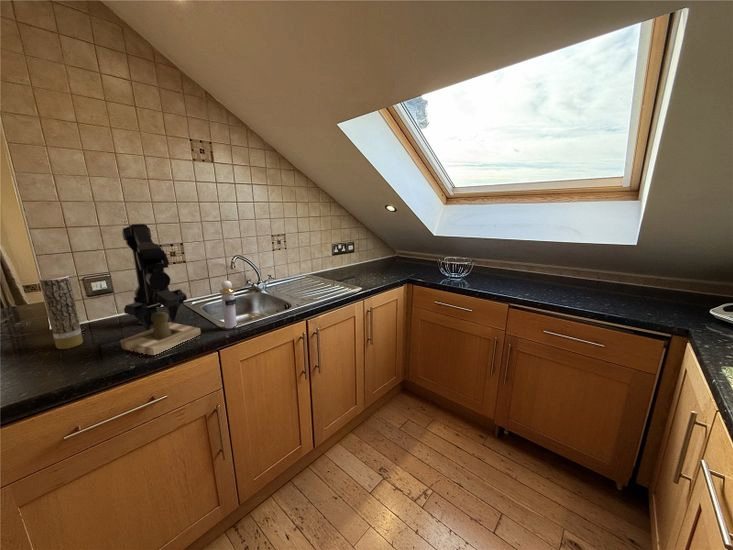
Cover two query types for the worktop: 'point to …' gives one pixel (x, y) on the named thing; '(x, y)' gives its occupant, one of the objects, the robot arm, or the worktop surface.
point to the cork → (160, 325)
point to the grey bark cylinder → (61, 310)
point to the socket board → (154, 346)
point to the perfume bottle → (228, 305)
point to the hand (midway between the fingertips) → (161, 325)
